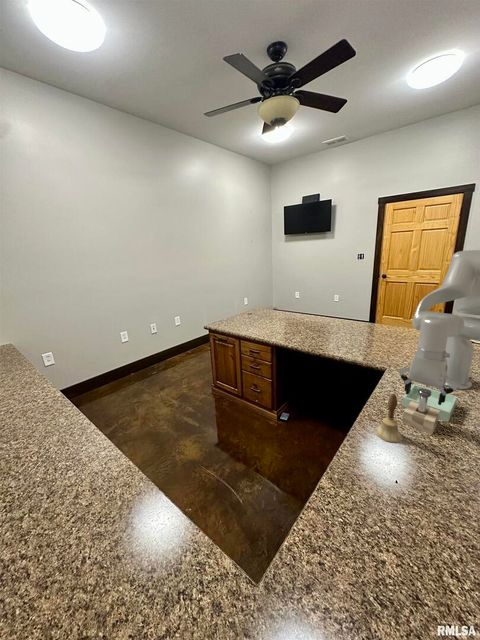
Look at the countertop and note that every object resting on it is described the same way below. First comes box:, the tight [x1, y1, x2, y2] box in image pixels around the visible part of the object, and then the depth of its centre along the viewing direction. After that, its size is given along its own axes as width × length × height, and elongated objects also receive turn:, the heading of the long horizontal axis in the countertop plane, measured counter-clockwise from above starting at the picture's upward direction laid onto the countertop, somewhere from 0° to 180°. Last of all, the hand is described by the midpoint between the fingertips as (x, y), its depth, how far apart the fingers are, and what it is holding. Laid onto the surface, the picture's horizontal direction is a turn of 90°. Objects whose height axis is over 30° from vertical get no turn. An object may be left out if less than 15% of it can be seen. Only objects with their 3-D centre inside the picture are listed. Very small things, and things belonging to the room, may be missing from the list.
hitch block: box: [401, 401, 440, 435], centre depth 94 cm, size 9×9×5 cm
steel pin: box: [418, 387, 432, 415], centre depth 92 cm, size 4×4×13 cm
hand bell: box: [374, 393, 403, 444], centre depth 87 cm, size 8×8×16 cm
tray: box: [401, 383, 458, 423], centre depth 103 cm, size 14×15×4 cm
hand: (423, 397), depth 91 cm, fingers open, 9 cm apart
